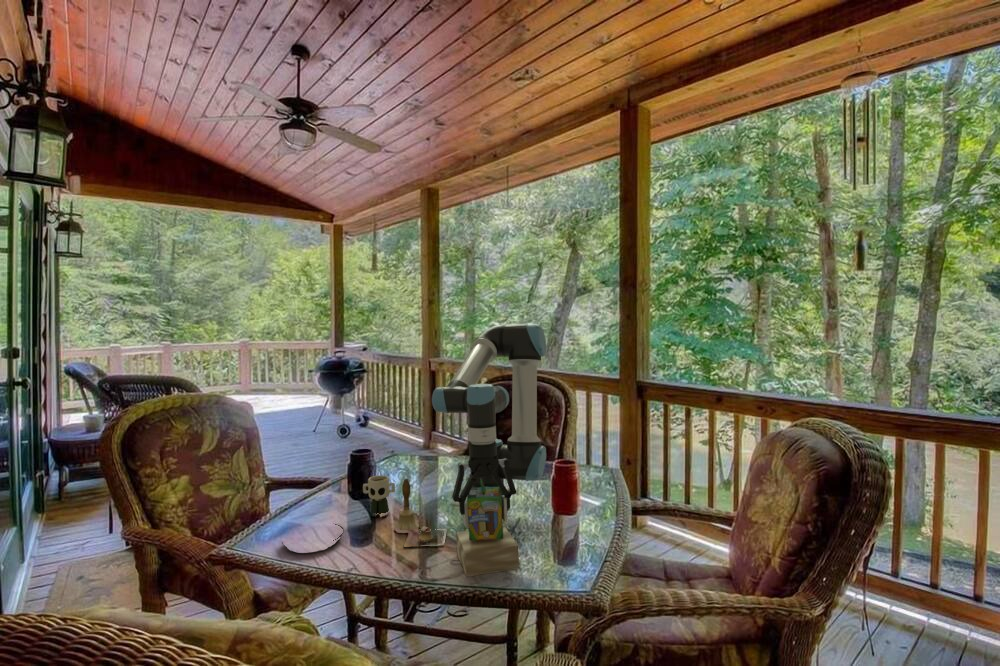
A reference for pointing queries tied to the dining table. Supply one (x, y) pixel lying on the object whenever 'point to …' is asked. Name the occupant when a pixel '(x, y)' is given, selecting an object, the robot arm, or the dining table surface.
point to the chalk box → (485, 513)
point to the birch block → (487, 553)
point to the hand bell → (406, 511)
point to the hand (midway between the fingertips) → (485, 523)
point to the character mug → (379, 493)
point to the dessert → (430, 535)
